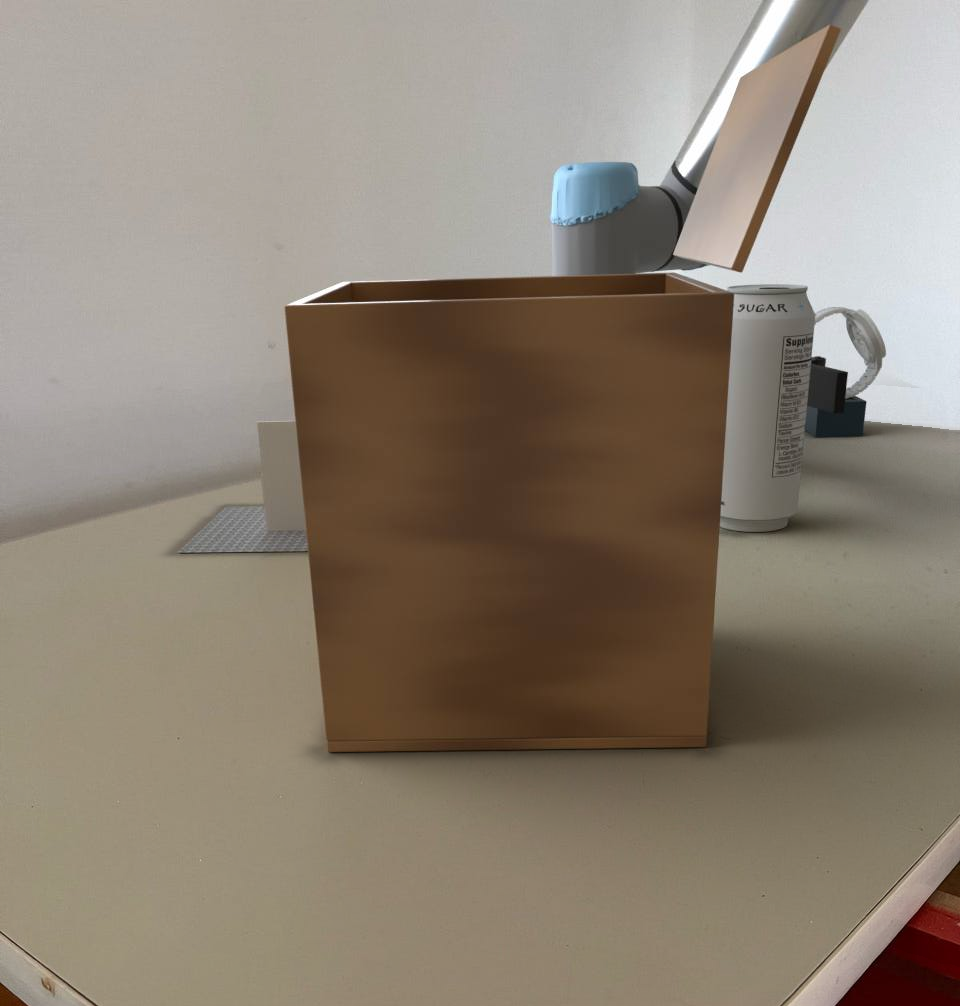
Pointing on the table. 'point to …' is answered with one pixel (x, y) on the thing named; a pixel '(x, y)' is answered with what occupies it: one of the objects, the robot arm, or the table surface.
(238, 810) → the table surface
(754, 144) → the flap
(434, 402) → the carton
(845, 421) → the watch
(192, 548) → the architectural model
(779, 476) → the energy drink can
